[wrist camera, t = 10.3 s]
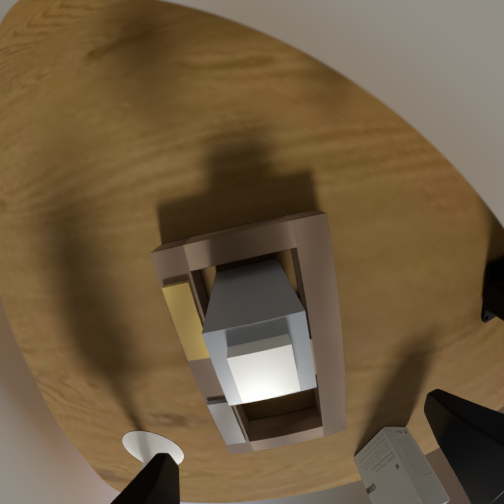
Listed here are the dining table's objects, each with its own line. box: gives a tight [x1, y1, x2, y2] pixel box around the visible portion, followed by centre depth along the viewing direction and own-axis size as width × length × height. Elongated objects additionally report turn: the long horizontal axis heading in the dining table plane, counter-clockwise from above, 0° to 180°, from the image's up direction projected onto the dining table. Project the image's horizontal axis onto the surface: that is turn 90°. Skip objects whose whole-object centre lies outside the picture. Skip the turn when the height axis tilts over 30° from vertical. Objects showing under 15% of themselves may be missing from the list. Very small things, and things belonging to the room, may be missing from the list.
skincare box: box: [354, 427, 450, 504], centre depth 18 cm, size 6×4×12 cm
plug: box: [202, 258, 317, 406], centre depth 14 cm, size 4×4×9 cm
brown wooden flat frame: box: [150, 210, 346, 454], centre depth 18 cm, size 10×18×3 cm, turn 12°
